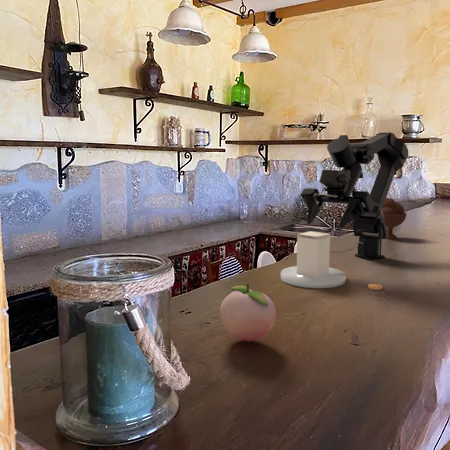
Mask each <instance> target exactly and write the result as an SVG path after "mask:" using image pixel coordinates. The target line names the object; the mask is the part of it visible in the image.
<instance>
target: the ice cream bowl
mask: <svg viewBox="0 0 450 450" xmlns="http://www.w3.org/2000/svg"><path fill="white" fill-rule="evenodd" d="M382 212H383V215H384V218H385V220H384V222H385V225H386V227H387V229H388V235H387V239H386V240H398V236H397V235H395V234H394V233H393V230H394V228H397V227H398V226H400V225H401V224H403V223H404V222H405V220H406V218H407V214H408V213H407V212H405V209H404V206H403V205H402V204H401V203H399V202H397V201H395V199H393V198H389V197H386V200H385V203H384V206H383V208H382Z"/></svg>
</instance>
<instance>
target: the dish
mask: <svg viewBox="0 0 450 450" xmlns="http://www.w3.org/2000/svg"><path fill="white" fill-rule="evenodd" d="M346 279H347V274H346V272H344V271H342V270H341V269H336V268H334V267H330V266H329V273H328V274H325V275H322V276H320V277H317V278H316V277H311V276H306V275H301V274H297V265H293V266H289V267H284V268H283V269H282V270H281V271H280V280H281V281H282V282H283V283H285V284H287V285H290V286H293V287H294V286H295V287H299V288H307V289H329V288H331V289H332V288H337V287H340V286H343V285H345V283H346V282H347V281H346Z"/></svg>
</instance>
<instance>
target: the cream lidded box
mask: <svg viewBox="0 0 450 450" xmlns="http://www.w3.org/2000/svg"><path fill="white" fill-rule="evenodd" d="M330 249H331V234H330V233H329V232H328V233H327V232H319V231H313V230H311V231H309V230H308V231H305V232H300V233H297V234H296V266H297V274H301V275H306V276H311V277H316V278H317V277H320V276H322V275H325V274H328V273H329V267H330V256H331V255H330V254H331V253H330V252H331V251H330Z"/></svg>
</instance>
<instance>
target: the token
mask: <svg viewBox="0 0 450 450" xmlns="http://www.w3.org/2000/svg"><path fill="white" fill-rule="evenodd" d="M367 288H368V289H369V290H373V291H381V290H383V285H382V284H380V283H379V284H378V283H368V285H367Z"/></svg>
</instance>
